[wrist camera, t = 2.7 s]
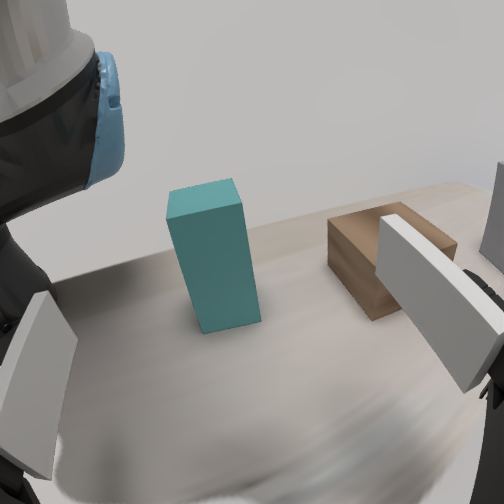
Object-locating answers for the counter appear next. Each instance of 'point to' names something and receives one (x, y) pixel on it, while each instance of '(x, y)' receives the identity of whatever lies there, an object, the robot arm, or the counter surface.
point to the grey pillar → (495, 224)
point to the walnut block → (373, 253)
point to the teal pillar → (214, 254)
